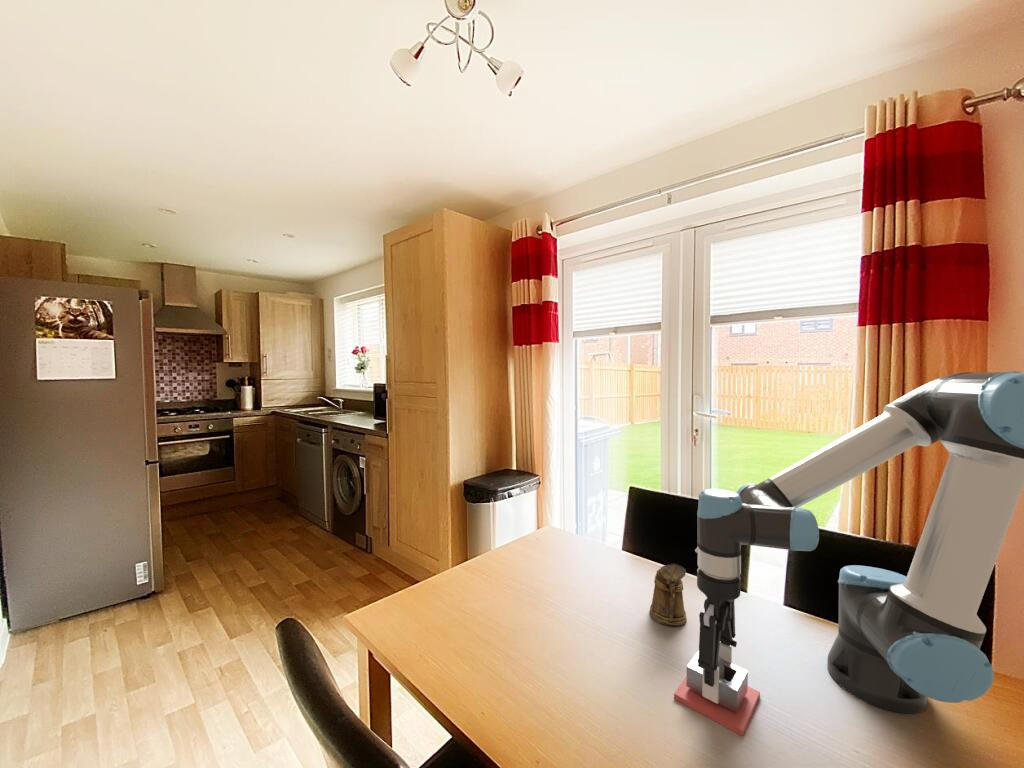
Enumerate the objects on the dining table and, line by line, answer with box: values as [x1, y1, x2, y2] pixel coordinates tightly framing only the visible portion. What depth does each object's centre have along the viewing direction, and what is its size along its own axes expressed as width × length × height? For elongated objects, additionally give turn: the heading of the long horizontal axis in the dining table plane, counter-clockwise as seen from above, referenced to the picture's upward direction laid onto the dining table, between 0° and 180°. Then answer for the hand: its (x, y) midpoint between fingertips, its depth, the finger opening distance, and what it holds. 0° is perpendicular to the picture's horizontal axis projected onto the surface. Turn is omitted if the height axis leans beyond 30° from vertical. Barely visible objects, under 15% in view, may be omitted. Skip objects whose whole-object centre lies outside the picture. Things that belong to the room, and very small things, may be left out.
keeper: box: [673, 657, 761, 737], centre depth 79 cm, size 12×12×8 cm
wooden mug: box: [649, 562, 688, 627], centre depth 104 cm, size 9×14×18 cm, turn 167°
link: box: [686, 649, 749, 712], centre depth 79 cm, size 9×7×4 cm
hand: (717, 687), depth 79 cm, fingers closed on link, 7 cm apart
